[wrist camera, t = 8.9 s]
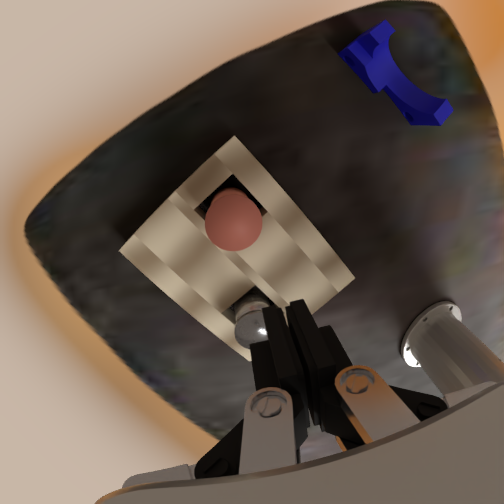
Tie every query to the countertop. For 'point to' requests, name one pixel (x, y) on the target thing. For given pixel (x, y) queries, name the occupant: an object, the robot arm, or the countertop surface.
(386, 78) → the cable clip
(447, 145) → the countertop surface
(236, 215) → the red plug
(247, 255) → the board
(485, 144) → the countertop surface
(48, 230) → the countertop surface
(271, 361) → the robot arm
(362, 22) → the countertop surface
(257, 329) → the grey plug
